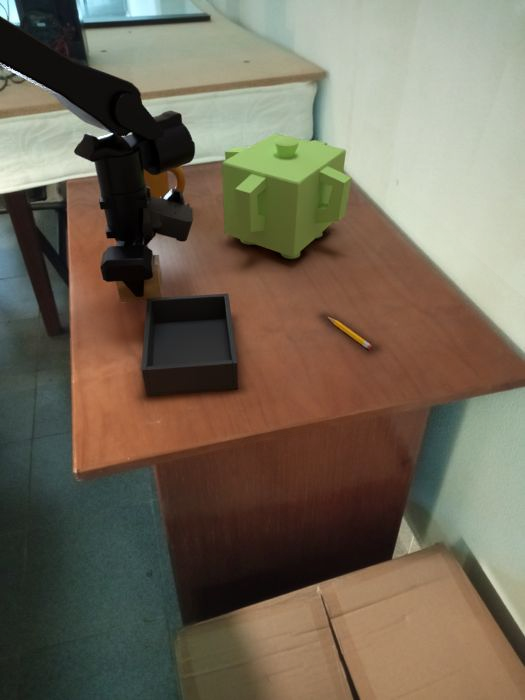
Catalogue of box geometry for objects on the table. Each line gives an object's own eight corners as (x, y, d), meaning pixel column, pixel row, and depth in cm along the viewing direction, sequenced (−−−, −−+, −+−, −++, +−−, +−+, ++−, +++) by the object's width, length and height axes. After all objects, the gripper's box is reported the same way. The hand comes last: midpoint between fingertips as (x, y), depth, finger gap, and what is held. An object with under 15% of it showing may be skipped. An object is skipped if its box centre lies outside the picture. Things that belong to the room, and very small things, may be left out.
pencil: (368, 351, 67) (369, 347, 67) (325, 319, 72) (325, 315, 72) (372, 348, 68) (373, 345, 67) (329, 317, 73) (329, 313, 72)
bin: (146, 396, 60) (141, 370, 57) (151, 323, 71) (146, 298, 68) (238, 389, 61) (237, 362, 58) (229, 318, 72) (228, 293, 69)
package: (120, 302, 72) (113, 273, 69) (122, 285, 75) (116, 256, 72) (162, 300, 73) (157, 270, 69) (162, 282, 76) (158, 253, 73)
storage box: (266, 196, 102) (267, 107, 91) (367, 225, 93) (383, 131, 82) (190, 248, 86) (180, 148, 75) (303, 289, 78) (312, 184, 66)
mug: (186, 214, 96) (182, 168, 90) (123, 216, 95) (115, 170, 89) (187, 194, 102) (183, 150, 96) (128, 196, 101) (120, 151, 95)
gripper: (187, 216, 57) (197, 322, 67) (185, 156, 71) (193, 251, 81) (88, 221, 56) (113, 328, 66) (105, 158, 69) (124, 255, 80)
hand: (140, 286), depth 73 cm, fingers closed on package, 4 cm apart
